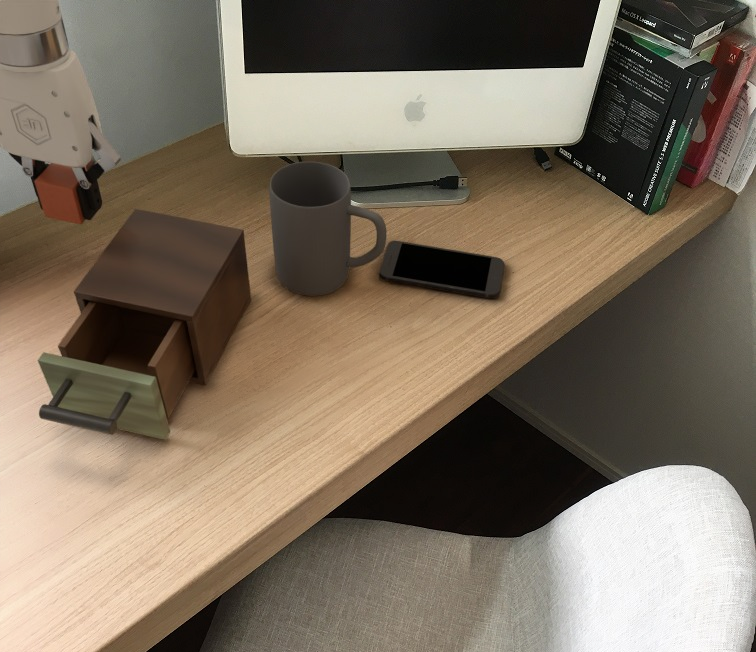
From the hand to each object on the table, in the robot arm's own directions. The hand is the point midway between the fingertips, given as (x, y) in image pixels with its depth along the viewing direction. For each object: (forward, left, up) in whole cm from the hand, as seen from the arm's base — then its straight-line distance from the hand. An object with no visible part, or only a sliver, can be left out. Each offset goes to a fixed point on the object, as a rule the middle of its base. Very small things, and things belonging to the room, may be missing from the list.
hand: (71, 206), depth 89 cm
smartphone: (+42, +11, -8) cm, 44 cm away
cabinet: (+15, -8, -8) cm, 18 cm away
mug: (+29, +6, -8) cm, 30 cm away
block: (0, 0, 0) cm, 0 cm away
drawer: (+15, -20, -7) cm, 26 cm away
